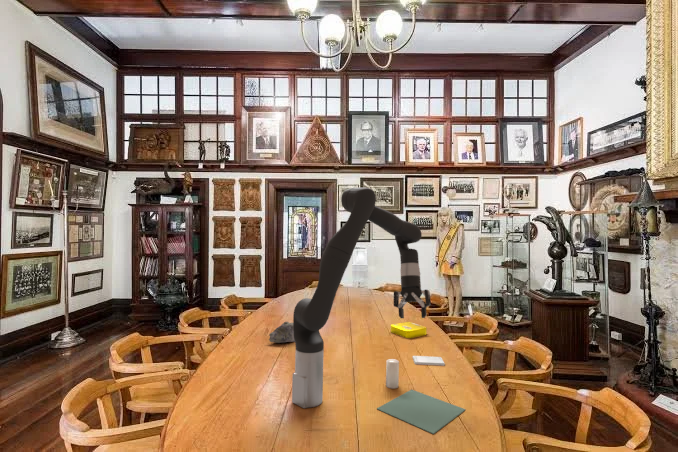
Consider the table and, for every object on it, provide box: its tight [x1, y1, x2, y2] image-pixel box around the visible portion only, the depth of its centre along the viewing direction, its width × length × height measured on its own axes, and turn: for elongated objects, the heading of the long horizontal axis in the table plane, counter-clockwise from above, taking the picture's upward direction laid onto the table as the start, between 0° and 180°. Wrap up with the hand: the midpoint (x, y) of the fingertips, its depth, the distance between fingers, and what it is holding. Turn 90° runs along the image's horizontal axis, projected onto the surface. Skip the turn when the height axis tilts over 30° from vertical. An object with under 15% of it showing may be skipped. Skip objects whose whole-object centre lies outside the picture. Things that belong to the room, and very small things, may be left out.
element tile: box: [390, 321, 427, 339], centre depth 206 cm, size 15×15×5 cm
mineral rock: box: [268, 321, 295, 344], centre depth 186 cm, size 13×11×10 cm
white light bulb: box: [385, 358, 400, 390], centre depth 136 cm, size 4×4×9 cm
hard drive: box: [412, 355, 446, 367], centre depth 162 cm, size 2×8×12 cm
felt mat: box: [376, 389, 466, 435], centre depth 119 cm, size 20×20×1 cm
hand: (412, 318), depth 143 cm, fingers open, 8 cm apart
